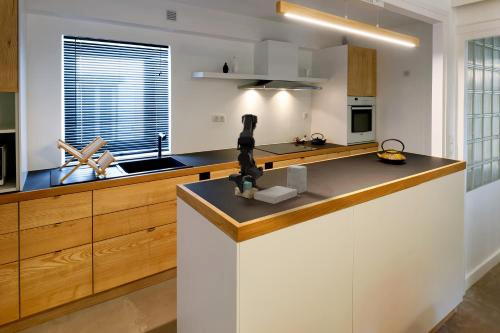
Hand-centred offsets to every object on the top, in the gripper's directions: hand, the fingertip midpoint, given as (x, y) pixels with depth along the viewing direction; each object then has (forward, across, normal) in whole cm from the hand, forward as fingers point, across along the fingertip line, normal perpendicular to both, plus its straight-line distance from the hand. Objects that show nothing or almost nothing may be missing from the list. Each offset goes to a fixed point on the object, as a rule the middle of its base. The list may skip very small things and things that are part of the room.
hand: (246, 192), depth 156 cm
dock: (+2, +7, -13) cm, 15 cm away
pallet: (+2, 0, 0) cm, 2 cm away
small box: (+2, +23, -14) cm, 27 cm away
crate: (-2, 0, 0) cm, 2 cm away
